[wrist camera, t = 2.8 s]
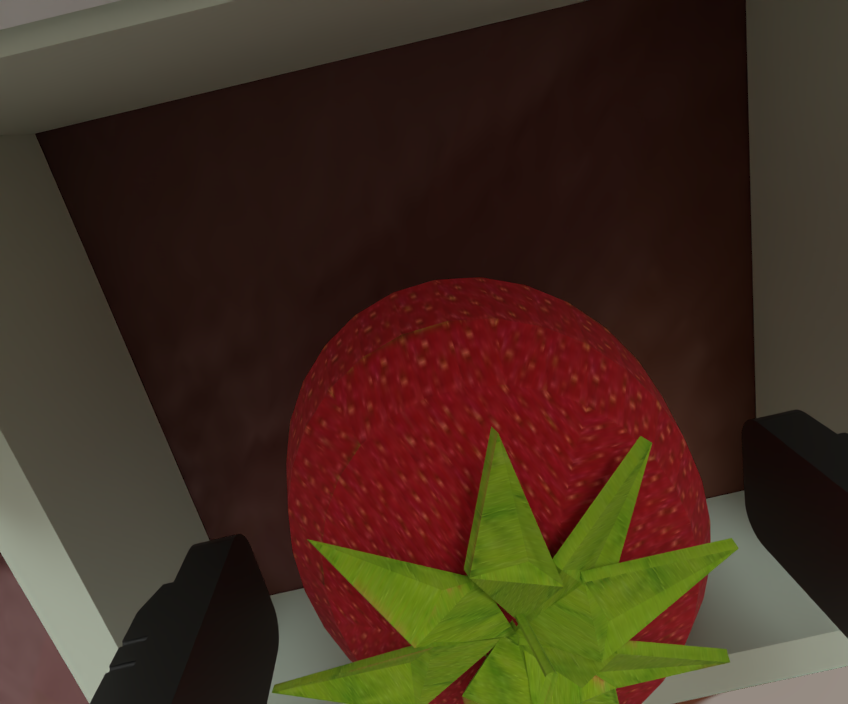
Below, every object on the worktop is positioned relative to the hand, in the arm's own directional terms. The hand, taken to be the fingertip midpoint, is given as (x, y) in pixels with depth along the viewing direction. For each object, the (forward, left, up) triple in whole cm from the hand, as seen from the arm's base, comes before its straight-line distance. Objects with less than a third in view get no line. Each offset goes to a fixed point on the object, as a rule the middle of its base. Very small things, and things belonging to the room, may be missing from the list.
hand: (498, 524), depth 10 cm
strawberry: (0, 0, -5) cm, 5 cm away
